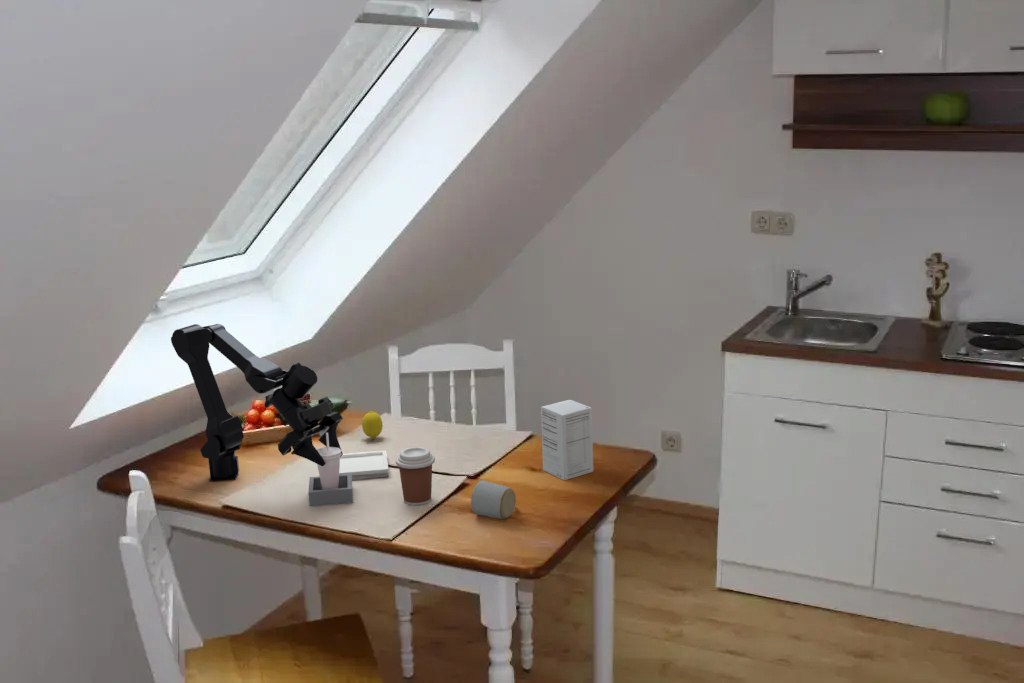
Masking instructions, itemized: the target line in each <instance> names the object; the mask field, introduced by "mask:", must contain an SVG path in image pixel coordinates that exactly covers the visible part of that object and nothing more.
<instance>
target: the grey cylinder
mask: <svg viewBox="0 0 1024 683" xmlns="http://www.w3.org/2000/svg"><path fill="white" fill-rule="evenodd" d="M470 499H471V500H470V505H471V506H470V507H471V511H472V512H473V513H474V515H478V516H483V517H488V518H495V519H498V520H500V519H501V520H505V519H508V518H510V517H511V515H512V514H513V513H514V511H515V508H516V504H517V496H516V492H515V491H514V489H512V488H511V487H508V486H505V485H501V484H498V483H494V482H490V481H486V480H479V482H477V483H476V485H475V486H474V488H473V490H472V493H471V498H470Z"/></svg>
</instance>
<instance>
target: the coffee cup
mask: <svg viewBox="0 0 1024 683" xmlns="http://www.w3.org/2000/svg"><path fill="white" fill-rule="evenodd" d="M435 461H436V457H435V456H434V455H433V453H431V450H430V449H428V448H426V447H422V446H413V447H407V448H405V449H402V450H401V451H400V452H399V454H398V456H397V457H396V459H395V465H396V466H397V467H398V471H399V476H400V482H401V483H400V484H401V490H402V496H403V497H402V498H403V503H404V504H405V505H408V506H412V505H413V507H414V506H415V507H416V506H418V507H419V506H424V505H427V504H429V503H430V502H432V488H433V487H432V485H433V483H432V482H433V464H435Z"/></svg>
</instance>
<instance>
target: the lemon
mask: <svg viewBox="0 0 1024 683" xmlns="http://www.w3.org/2000/svg"><path fill="white" fill-rule="evenodd" d="M361 424H362V425H361V426H362V432H363V433H364V435H365V436H367V437H369V438H371V439H372V440H375V438H377V437H379V435H380V434H381V433H382V431H383V420H382V418H381V416H380V415H379V414H378V413H377V412H375V411H373V410H370V411H369V412H367V413H366V414H365V415H364V416H363V418H362V423H361Z"/></svg>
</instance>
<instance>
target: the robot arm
mask: <svg viewBox="0 0 1024 683" xmlns="http://www.w3.org/2000/svg"><path fill="white" fill-rule="evenodd" d="M170 342H171V344H172V347H173V349H174V351H175V353H176V355H177V357H178V358H180V359H181V360H182V361H183V362H184V363H185V364H187V366H188V369H189V372H190V374H191V376H192V377H191V378H192V380H193V382H194V385H195V388H196V391H197V393H198V396H199V398H200V402H201V404H202V407H203V409H204V412H205V416H206V418H207V420H206V427H205V428H206V429H205V434H206V438H207V440H206V442H205V443H204V445H202V447H201V448H200V449H199V450H200V453H201V456H202V458H205V459H208V467H209V479H208V481H209V482H222V481H234V480H237V476H238V475H239V472H240V465H239V456H238V455H236V451H238V450H240V449H241V445H242V442H243V439H244V431H245V430H244V428H243V427H242V424H241V420H240V417H239V416H238V415H235V416H233V415H232V414H230V412H229V411H228V410H227V408H226V405H225V402H224V400H223V396H222V393H221V390H220V388H219V386H218V382H217V380H216V377H215V375H214V372H213V370H212V366H211V363H210V360H209V358H208V356H209V353H210V352H209V350H210V345H211V346H213V347H214V348H215V349H216V350H217V351H218V352H219V353H220V354H221V355H223V357H225V358H226V359H227V360H229V361H230V362H231V363H232V364H233V365H234V366H235V367H237V368H238V369H239V370H240V371H241V372H242V373H243V375H244V378H245V381H246V383H248V385H249V386H250V387H251V388H252V390H254V391H255V392H256V393H258V394H266V393H268V392H270V391H273V390H274V391H273V392H272V393H270V394H268V395H265V397H264V398H265V401H264V408H265V409H267V408H270V407H272V406H273V407H274V408H275V410H276V411H277V413H278V414H279V415H280V416H281V417H282V419H283V421H282V424H283V426H284V427H286V426H289V428H291V430H292V431H290V432H288V433H286V434H285V436H283V438H282V439H281V440H280V441H279V443H278V444H277V450H278V451H279V453H280V454H281V455H282V456H286V455H287V454H291V455H293V456H294V455H296V456H299V457H301V458H303V459H306V460H308V461H309V462H312V463H315V464H316V465H317V464H318V465H321V466H324V465H325V464H326V463H325V461H324V460H323V458H322V457H321V455H320V454H319V452H318V451H317V448H316V447H315V446H314V444H313V439H312V437H313V436H315V435H317V434H318V435H319V436H320V438H318V441H319V442H320V443H321V444H322V445H324V446H325V447H327V442H326V433H328V437H329V447H337V448H339V449H341V453H342V454H341V456H342V455H343V454H344V453H343V451H342V447H341V445H340V442H339V440H338V436H337V427H338V426H339V424H340V423H341V422H342V421H343V419H344V418H343V416H342V415H341V414H340V413H339V411H332V409H333V408H334V403H333V402H332V400H331V399H330V398H329V397H328V396H324V397H322V398H320V399H318V401H317V403H318V404H316V405H314V406H312V405H311V404H310V403H305V404H304V403H303V402H302V401H301V400H300V399H303V398H305V396H307V394H308V393H309V392H310V391H311V390H312V388H313V387H314V386H315V385H316V384H317V382H318V376H317V373H316V372H315V370H313V369H311V368H309V367H308V366H305V365H302V364H301V362H295V363H293V364H292V365H291V366H290V368H289V370H285V369H282V368H281V367H280V366H279V365H278V364H275V363H273V361H270V360H269V359H267V358H266V359H265V358H262V357H259V356H258V355H256V354H255V353H253V352H252V351H251V350H250V349H249V348H248V347H246V346H245V345H244V344H243V343H242V342H241V341H239V340H238V339H237V338H236V337H234V335H232V334H231V333H230V332H229V331H228V330H227V329H226V327H225V326H224V324H220V323H216V324H212V325H211V324H210V325H207V326H206V325H205V326H201V324H191V325H187V326H184V327H181V328H177V329H175V330H173V332H172V335H171V337H170ZM341 456H340V457H341Z"/></svg>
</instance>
